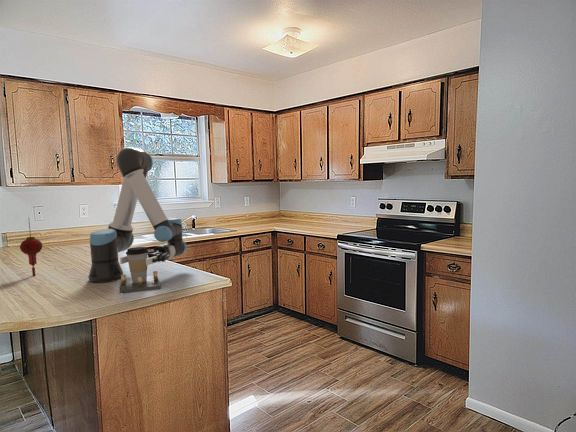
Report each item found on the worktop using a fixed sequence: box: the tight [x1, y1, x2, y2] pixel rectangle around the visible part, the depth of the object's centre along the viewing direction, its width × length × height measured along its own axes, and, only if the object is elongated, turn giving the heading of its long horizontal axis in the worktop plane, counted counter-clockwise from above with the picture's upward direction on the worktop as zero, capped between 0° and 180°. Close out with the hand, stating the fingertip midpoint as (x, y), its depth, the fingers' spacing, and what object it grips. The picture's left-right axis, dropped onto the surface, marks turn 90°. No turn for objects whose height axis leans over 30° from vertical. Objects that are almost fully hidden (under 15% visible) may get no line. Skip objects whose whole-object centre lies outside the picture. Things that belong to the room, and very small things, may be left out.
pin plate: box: [119, 270, 161, 295], centre depth 169 cm, size 20×16×6 cm
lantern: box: [19, 216, 43, 277], centre depth 192 cm, size 10×10×30 cm
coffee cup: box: [125, 246, 149, 283], centre depth 169 cm, size 9×9×15 cm
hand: (133, 261), depth 165 cm, fingers open, 13 cm apart
